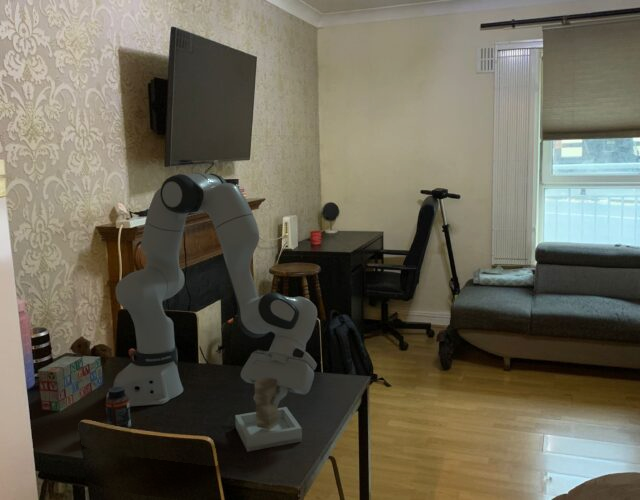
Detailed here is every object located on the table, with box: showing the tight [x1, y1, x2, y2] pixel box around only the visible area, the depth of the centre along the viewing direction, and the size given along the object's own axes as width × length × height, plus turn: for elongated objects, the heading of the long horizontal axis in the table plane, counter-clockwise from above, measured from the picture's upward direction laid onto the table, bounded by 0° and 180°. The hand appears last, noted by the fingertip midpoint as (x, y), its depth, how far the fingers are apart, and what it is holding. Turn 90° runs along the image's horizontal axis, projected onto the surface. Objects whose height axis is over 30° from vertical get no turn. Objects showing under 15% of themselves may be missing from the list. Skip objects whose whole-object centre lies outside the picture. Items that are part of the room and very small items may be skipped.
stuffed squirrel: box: [68, 335, 114, 373], centre depth 205 cm, size 10×14×13 cm
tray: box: [234, 406, 303, 452], centre depth 158 cm, size 14×14×4 cm
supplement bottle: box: [105, 386, 132, 429], centre depth 163 cm, size 6×6×11 cm
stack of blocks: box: [37, 356, 104, 412], centre depth 187 cm, size 21×6×12 cm, turn 165°
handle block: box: [254, 377, 279, 430], centre depth 157 cm, size 4×4×12 cm
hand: (265, 402), depth 157 cm, fingers closed on handle block, 4 cm apart
